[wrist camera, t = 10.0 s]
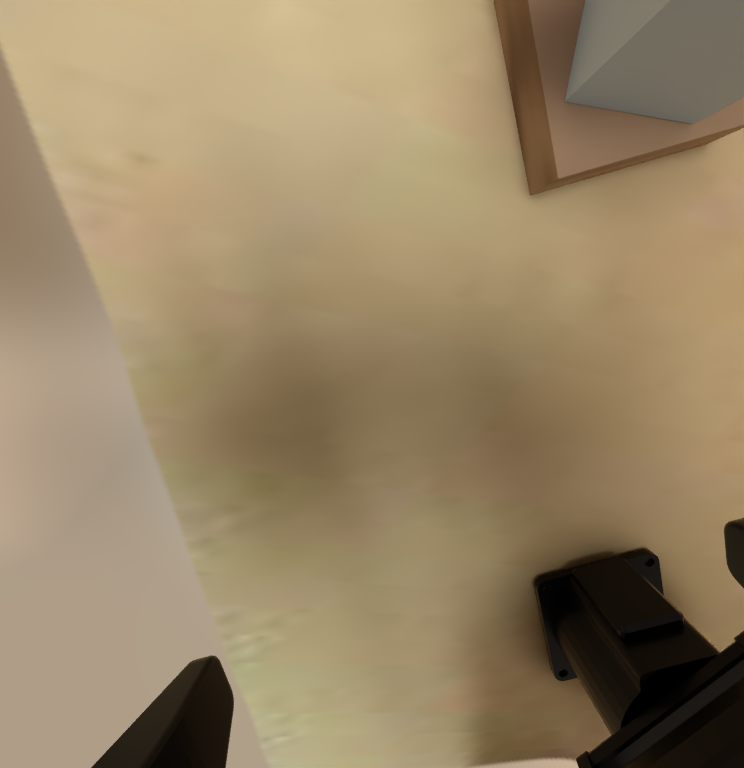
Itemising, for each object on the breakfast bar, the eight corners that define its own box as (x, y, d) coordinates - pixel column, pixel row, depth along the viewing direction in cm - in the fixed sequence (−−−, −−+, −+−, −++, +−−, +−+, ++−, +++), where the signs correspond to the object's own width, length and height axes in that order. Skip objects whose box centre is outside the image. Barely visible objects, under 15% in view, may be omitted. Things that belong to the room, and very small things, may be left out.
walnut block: (698, 147, 18) (763, 118, 16) (525, 197, 19) (558, 178, 16) (677, -61, 17) (746, -137, 14) (487, -4, 17) (516, -68, 14)
